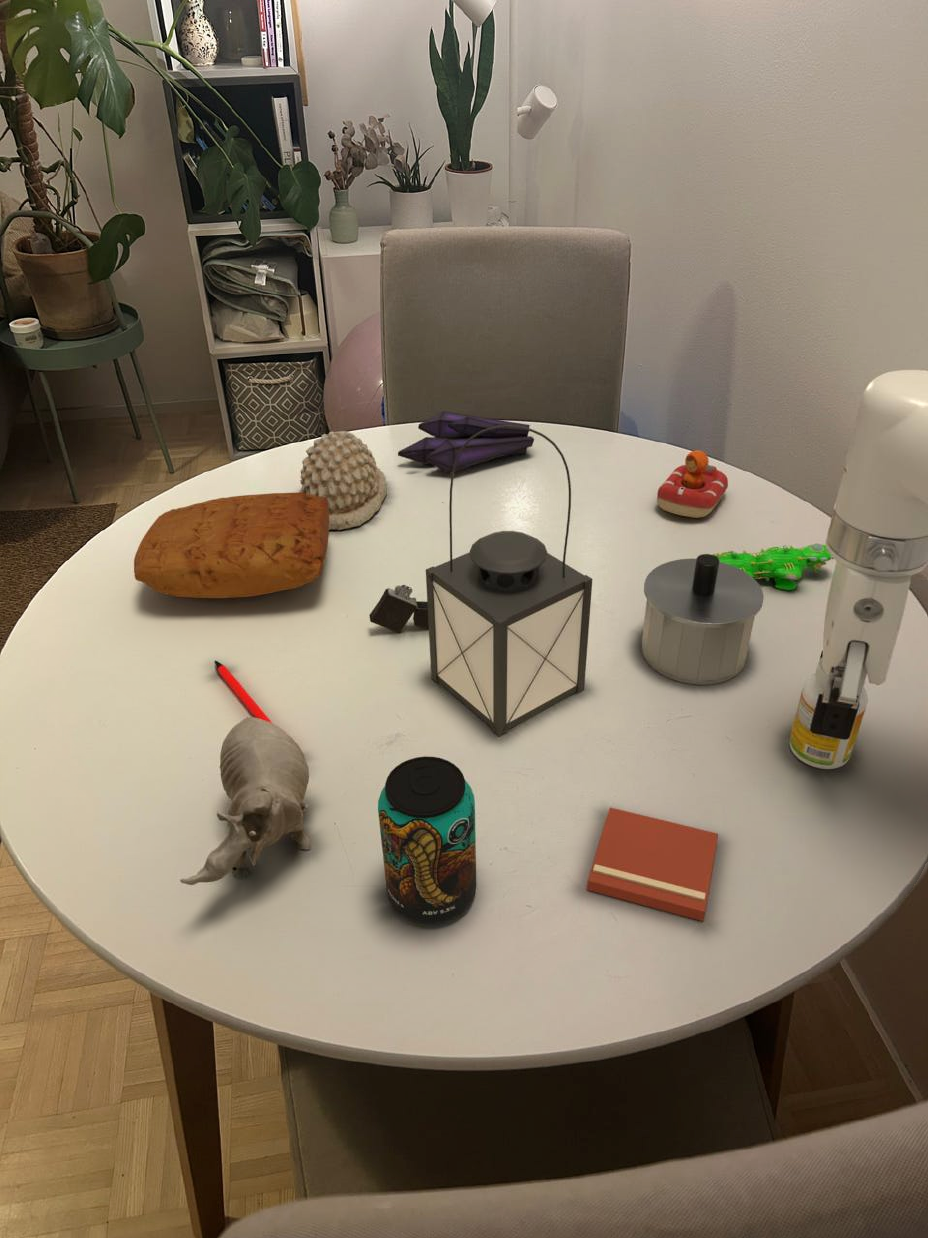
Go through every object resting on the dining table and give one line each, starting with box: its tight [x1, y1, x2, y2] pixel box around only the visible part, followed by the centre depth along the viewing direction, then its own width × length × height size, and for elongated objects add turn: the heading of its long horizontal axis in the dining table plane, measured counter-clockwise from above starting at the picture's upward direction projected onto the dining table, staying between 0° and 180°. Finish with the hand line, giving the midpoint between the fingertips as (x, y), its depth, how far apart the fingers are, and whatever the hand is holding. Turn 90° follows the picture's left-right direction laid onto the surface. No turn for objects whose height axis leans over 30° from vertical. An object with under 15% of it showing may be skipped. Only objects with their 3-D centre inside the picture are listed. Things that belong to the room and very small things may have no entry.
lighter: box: [368, 584, 429, 634], centre depth 99 cm, size 8×2×5 cm
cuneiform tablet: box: [133, 491, 330, 599], centre depth 107 cm, size 22×17×8 cm
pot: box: [641, 599, 756, 686], centre depth 93 cm, size 11×11×8 cm
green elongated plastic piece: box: [711, 542, 834, 591], centre depth 105 cm, size 7×18×4 cm, turn 99°
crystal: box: [397, 410, 535, 474], centre depth 132 cm, size 7×12×20 cm
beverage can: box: [377, 755, 478, 924], centre depth 68 cm, size 7×7×12 cm
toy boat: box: [656, 449, 729, 519], centre depth 119 cm, size 8×12×8 cm, turn 150°
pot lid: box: [643, 553, 764, 628], centre depth 90 cm, size 12×12×5 cm
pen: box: [214, 660, 273, 723], centre depth 89 cm, size 1×19×1 cm, turn 36°
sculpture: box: [299, 430, 388, 531], centre depth 121 cm, size 12×17×10 cm
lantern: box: [425, 425, 593, 737], centre depth 84 cm, size 11×11×28 cm
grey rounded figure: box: [179, 716, 312, 886], centre depth 74 cm, size 8×14×15 cm
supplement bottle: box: [789, 657, 869, 770], centre depth 81 cm, size 5×5×10 cm
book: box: [586, 807, 719, 922], centre depth 73 cm, size 9×8×2 cm
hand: (830, 710), depth 81 cm, fingers closed on supplement bottle, 5 cm apart
